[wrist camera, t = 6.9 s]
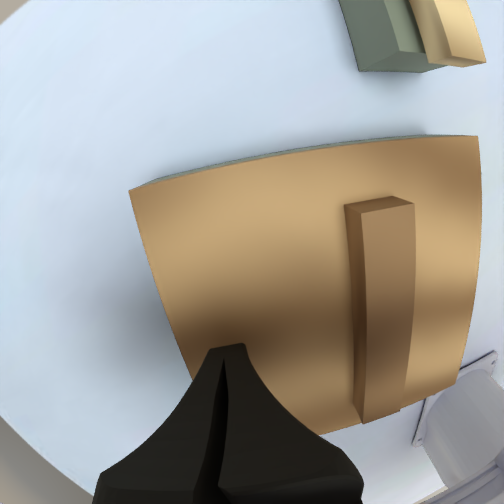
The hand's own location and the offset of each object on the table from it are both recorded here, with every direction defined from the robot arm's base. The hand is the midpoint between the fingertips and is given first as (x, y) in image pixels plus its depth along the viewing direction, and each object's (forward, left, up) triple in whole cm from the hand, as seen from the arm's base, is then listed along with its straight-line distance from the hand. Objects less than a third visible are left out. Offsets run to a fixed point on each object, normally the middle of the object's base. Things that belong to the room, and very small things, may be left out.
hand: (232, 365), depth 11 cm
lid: (0, -5, -2) cm, 5 cm away
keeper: (+13, -11, -5) cm, 17 cm away
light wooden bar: (+15, -11, 0) cm, 18 cm away
